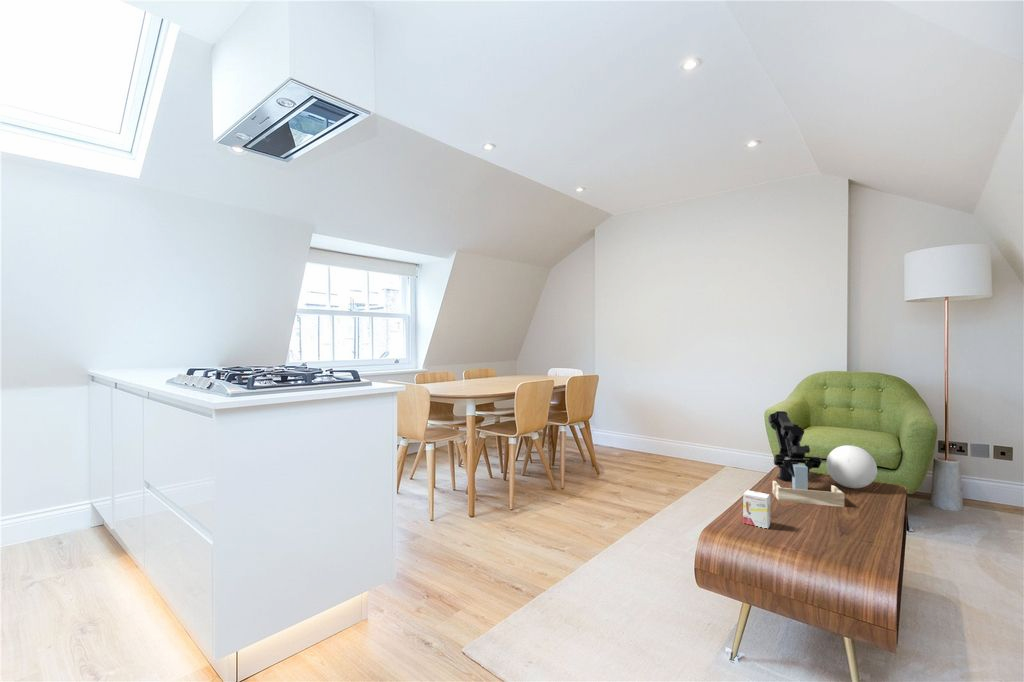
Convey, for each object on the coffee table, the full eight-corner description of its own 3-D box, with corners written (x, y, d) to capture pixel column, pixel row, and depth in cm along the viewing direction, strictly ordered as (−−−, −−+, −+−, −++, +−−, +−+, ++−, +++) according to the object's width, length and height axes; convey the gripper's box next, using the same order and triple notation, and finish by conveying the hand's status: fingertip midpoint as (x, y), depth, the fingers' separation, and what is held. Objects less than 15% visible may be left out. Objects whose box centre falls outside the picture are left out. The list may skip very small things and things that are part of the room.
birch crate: (772, 493, 213) (772, 480, 213) (834, 499, 206) (834, 485, 206) (778, 501, 202) (778, 488, 202) (844, 508, 195) (844, 493, 195)
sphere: (870, 497, 209) (870, 452, 209) (820, 486, 224) (820, 445, 225) (882, 488, 222) (882, 446, 222) (833, 479, 237) (833, 439, 237)
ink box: (742, 523, 177) (742, 492, 177) (745, 520, 181) (745, 489, 181) (767, 529, 172) (767, 497, 172) (770, 525, 176) (770, 494, 176)
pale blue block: (792, 487, 217) (792, 463, 217) (804, 488, 216) (804, 464, 216) (795, 490, 212) (795, 466, 212) (807, 491, 211) (807, 467, 211)
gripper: (775, 437, 221) (780, 466, 210) (820, 439, 215) (828, 469, 204) (771, 450, 228) (776, 478, 218) (814, 452, 223) (822, 482, 212)
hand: (800, 477), depth 213 cm, fingers closed on pale blue block, 5 cm apart
